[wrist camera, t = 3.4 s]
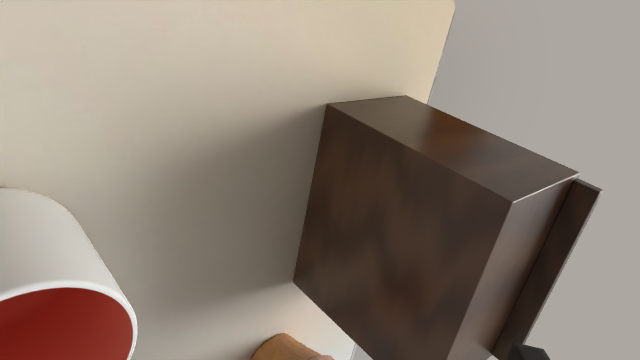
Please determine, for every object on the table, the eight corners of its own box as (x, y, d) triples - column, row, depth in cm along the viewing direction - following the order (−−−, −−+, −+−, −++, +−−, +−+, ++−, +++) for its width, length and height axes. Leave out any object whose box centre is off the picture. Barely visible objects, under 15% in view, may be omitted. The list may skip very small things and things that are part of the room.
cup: (-3, 144, 25) (49, 242, 19) (109, 241, 33) (173, 334, 27) (-189, 272, 23) (-199, 434, 17) (-22, 346, 30) (15, 478, 24)
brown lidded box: (326, 103, 41) (542, 218, 28) (406, 95, 48) (607, 184, 35) (292, 282, 50) (444, 429, 37) (363, 253, 57) (511, 368, 44)
